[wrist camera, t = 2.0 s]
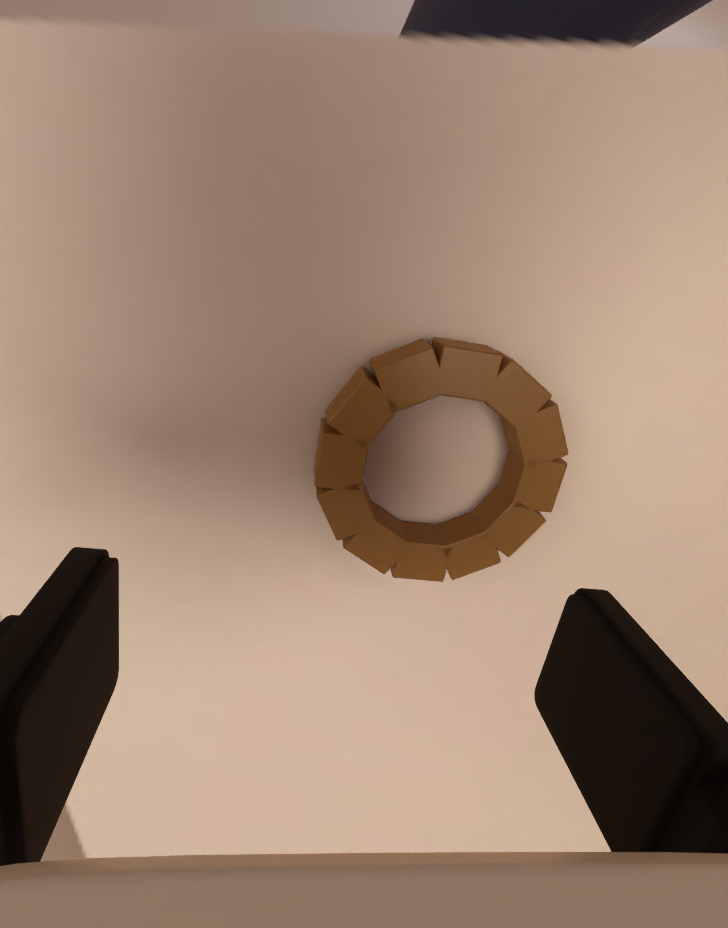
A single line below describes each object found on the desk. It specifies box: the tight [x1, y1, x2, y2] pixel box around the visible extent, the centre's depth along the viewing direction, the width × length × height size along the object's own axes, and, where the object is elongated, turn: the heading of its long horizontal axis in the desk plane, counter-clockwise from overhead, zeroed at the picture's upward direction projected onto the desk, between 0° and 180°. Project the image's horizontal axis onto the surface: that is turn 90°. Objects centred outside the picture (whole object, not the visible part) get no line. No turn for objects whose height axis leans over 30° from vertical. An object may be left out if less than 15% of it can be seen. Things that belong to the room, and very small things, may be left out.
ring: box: [314, 338, 568, 582], centre depth 19 cm, size 9×9×2 cm
